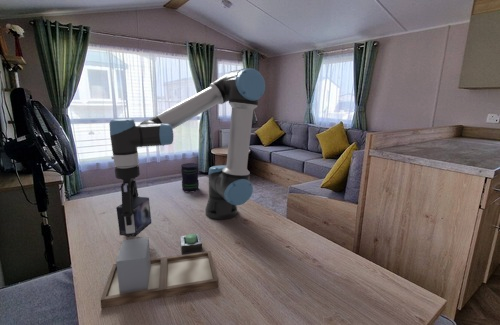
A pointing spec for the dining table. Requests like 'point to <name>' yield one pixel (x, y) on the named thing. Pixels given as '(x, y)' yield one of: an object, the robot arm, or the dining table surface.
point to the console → (191, 245)
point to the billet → (134, 265)
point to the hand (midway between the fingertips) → (133, 224)
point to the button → (191, 238)
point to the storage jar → (190, 177)
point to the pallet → (166, 279)
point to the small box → (136, 216)
